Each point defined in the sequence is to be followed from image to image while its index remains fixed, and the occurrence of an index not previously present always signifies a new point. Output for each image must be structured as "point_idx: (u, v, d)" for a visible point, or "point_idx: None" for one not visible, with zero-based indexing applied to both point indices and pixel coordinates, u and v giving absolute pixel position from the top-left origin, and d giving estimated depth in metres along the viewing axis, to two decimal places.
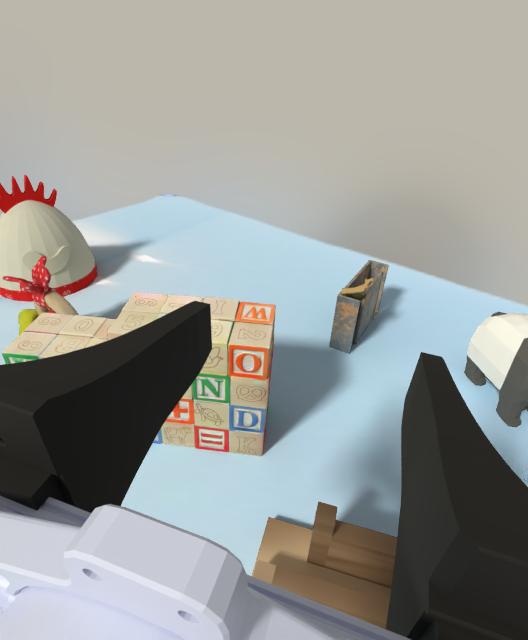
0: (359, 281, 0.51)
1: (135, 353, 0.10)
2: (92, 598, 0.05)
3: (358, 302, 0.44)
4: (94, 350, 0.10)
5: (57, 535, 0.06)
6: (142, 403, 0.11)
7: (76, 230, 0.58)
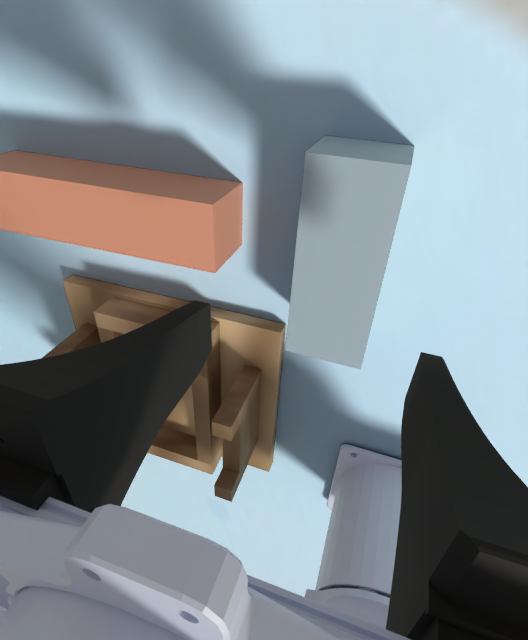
0: None
1: (135, 353, 0.10)
2: (92, 598, 0.05)
3: None
4: (94, 350, 0.10)
5: (57, 535, 0.06)
6: (142, 403, 0.11)
7: None
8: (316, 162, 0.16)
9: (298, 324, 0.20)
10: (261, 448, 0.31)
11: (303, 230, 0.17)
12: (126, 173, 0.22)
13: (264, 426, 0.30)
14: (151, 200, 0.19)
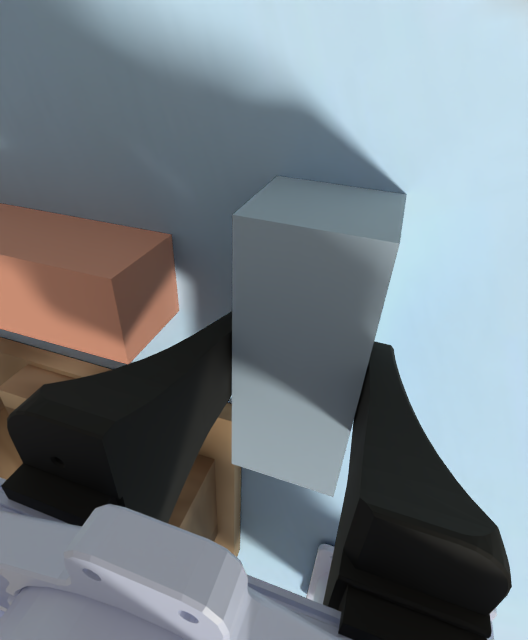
0: None
1: (187, 367, 0.10)
2: (92, 598, 0.05)
3: None
4: (145, 364, 0.10)
5: (57, 535, 0.06)
6: (190, 418, 0.11)
7: None
8: (250, 230, 0.10)
9: (246, 437, 0.14)
10: (223, 540, 0.25)
11: (240, 322, 0.12)
12: (15, 220, 0.16)
13: (224, 519, 0.24)
14: (30, 268, 0.13)
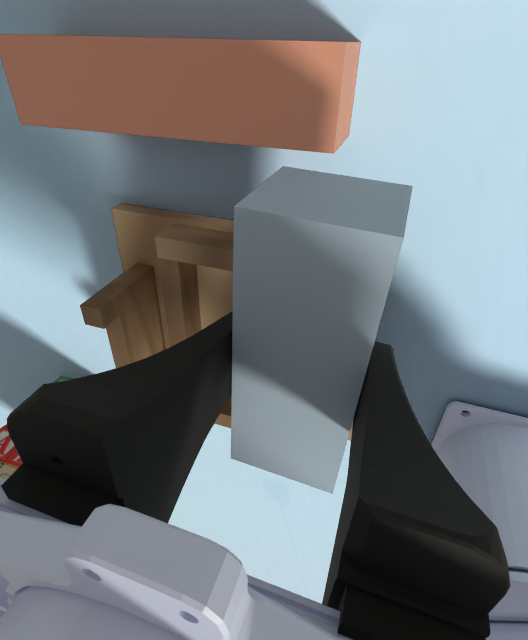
0: None
1: (187, 367, 0.10)
2: (92, 598, 0.05)
3: None
4: (145, 364, 0.10)
5: (57, 535, 0.06)
6: (190, 418, 0.11)
7: None
8: (252, 222, 0.10)
9: (246, 432, 0.14)
10: None
11: (241, 316, 0.12)
12: None
13: None
14: (256, 49, 0.14)
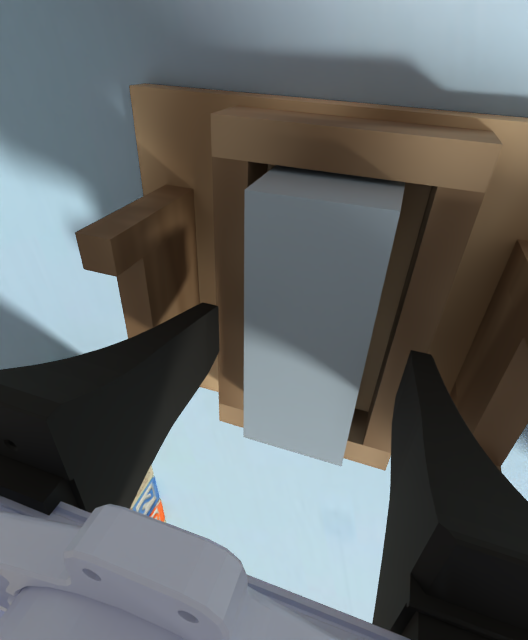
0: None
1: (145, 356, 0.10)
2: (92, 598, 0.05)
3: None
4: (104, 352, 0.10)
5: (57, 535, 0.06)
6: (152, 406, 0.11)
7: None
8: (261, 204, 0.11)
9: (257, 409, 0.15)
10: None
11: (252, 294, 0.12)
12: None
13: None
14: None
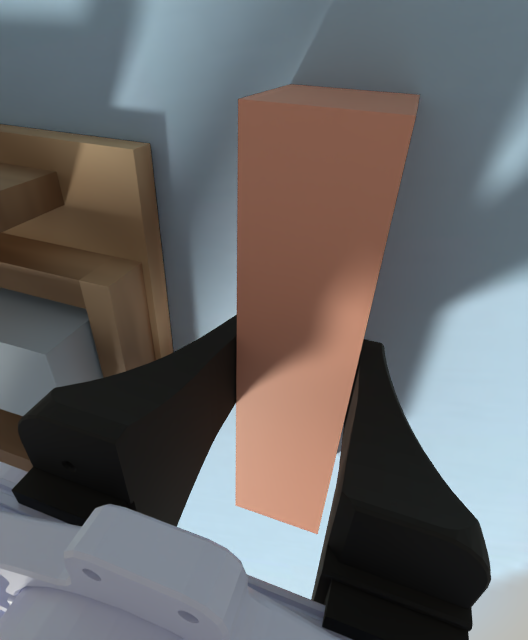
0: None
1: (197, 370, 0.10)
2: (92, 598, 0.05)
3: None
4: (155, 366, 0.10)
5: (57, 535, 0.06)
6: (199, 421, 0.11)
7: None
8: (41, 363, 0.14)
9: None
10: None
11: None
12: None
13: None
14: (320, 485, 0.14)
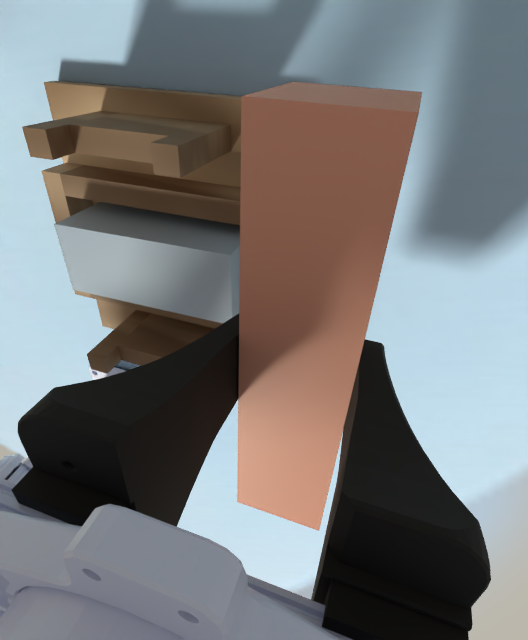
0: None
1: (197, 370, 0.10)
2: (92, 598, 0.05)
3: None
4: (154, 366, 0.10)
5: (57, 535, 0.06)
6: (199, 420, 0.11)
7: None
8: (224, 263, 0.19)
9: (85, 239, 0.21)
10: None
11: (169, 249, 0.20)
12: None
13: None
14: (321, 481, 0.14)
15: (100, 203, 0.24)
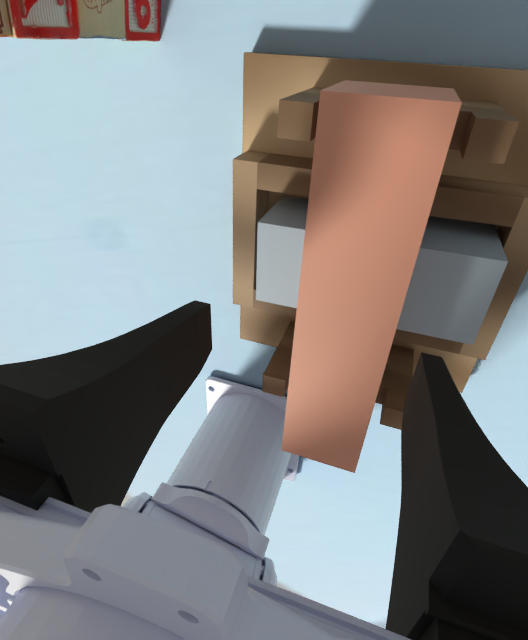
0: None
1: (135, 353, 0.10)
2: (92, 598, 0.05)
3: None
4: (94, 350, 0.10)
5: (57, 535, 0.06)
6: (142, 403, 0.11)
7: None
8: (493, 271, 0.16)
9: (297, 241, 0.17)
10: (277, 338, 0.26)
11: (418, 254, 0.16)
12: None
13: None
14: (361, 424, 0.17)
15: (284, 198, 0.20)
